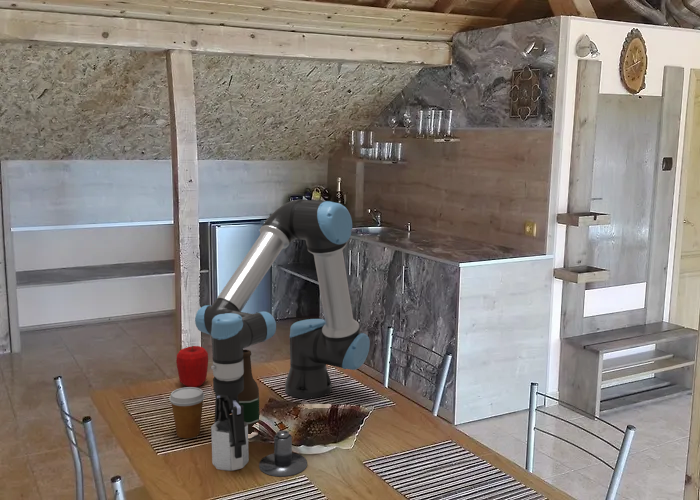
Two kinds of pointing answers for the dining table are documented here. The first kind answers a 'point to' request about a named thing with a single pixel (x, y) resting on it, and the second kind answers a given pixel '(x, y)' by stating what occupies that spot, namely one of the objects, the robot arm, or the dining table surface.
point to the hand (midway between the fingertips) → (230, 461)
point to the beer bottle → (249, 394)
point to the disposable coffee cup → (187, 411)
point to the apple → (192, 366)
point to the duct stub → (283, 458)
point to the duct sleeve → (225, 445)
